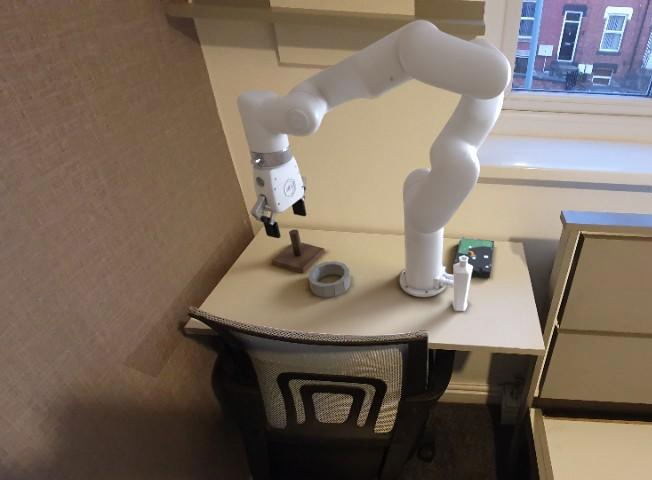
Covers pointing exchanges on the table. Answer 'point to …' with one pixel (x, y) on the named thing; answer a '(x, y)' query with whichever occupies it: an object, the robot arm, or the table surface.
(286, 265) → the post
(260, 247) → the table surface
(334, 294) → the tape roll
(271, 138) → the robot arm
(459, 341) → the table surface
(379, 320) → the table surface
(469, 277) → the perfume bottle
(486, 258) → the disk drive
